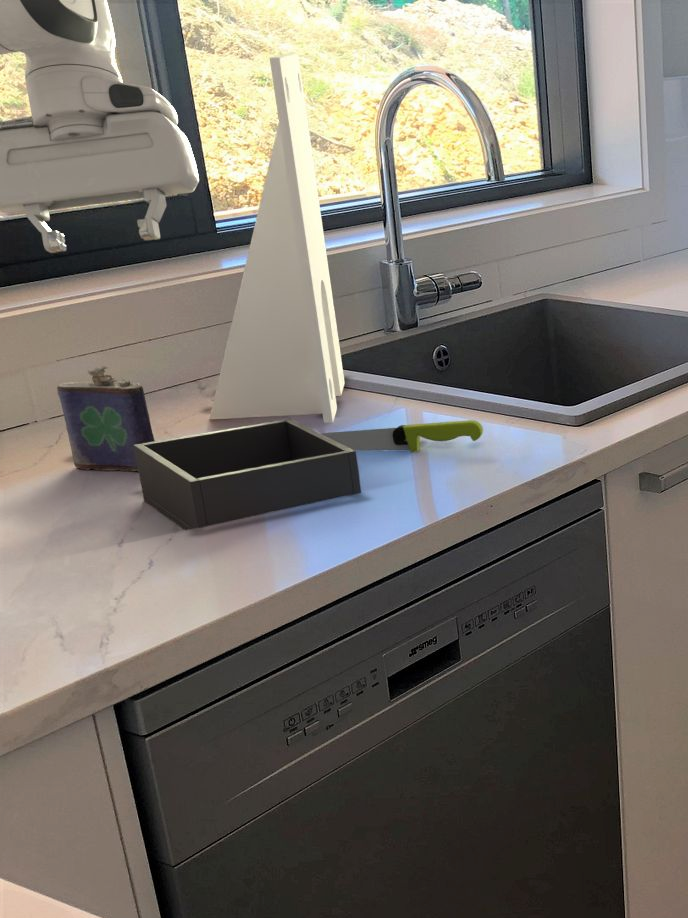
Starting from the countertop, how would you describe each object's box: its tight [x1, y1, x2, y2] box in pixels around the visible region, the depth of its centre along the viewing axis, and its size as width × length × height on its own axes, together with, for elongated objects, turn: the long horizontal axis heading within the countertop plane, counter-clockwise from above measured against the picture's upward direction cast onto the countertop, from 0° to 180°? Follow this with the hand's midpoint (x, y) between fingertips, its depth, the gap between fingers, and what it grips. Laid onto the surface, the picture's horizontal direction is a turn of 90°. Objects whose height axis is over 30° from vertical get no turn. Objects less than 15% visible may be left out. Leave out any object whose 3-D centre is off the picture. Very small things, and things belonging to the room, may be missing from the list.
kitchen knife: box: [319, 419, 484, 453], centre depth 154 cm, size 22×1×3 cm, turn 90°
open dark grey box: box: [133, 418, 362, 531], centre depth 136 cm, size 16×16×6 cm
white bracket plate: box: [209, 52, 346, 424], centre depth 164 cm, size 20×14×40 cm
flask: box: [56, 365, 156, 472], centre depth 146 cm, size 9×3×11 cm, turn 84°
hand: (103, 244), depth 143 cm, fingers open, 8 cm apart
